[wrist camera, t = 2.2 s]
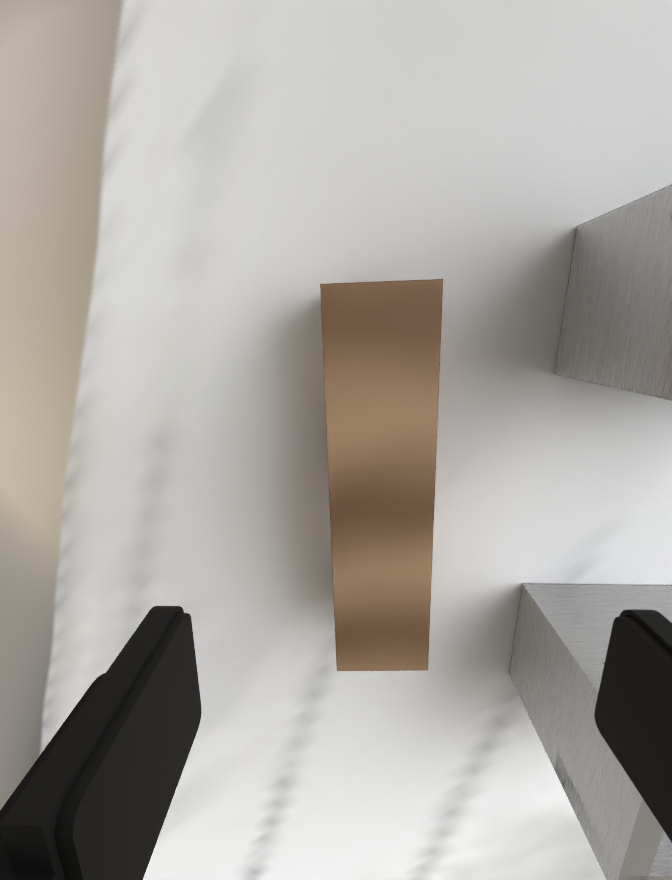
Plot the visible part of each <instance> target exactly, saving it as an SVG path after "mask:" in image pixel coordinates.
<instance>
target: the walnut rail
mask: <svg viewBox="0 0 672 880" xmlns="http://www.w3.org/2000/svg"><path fill="white" fill-rule="evenodd" d="M320 288H321V311H322V334H323V358H324V381H325V404H326V428H327V451H328V475H329V498H330V521H331V545H332V568H333V591H334V615H335V638H336V661H337V671H399V670H428V652H429V626H430V601H431V575H432V549H433V523H434V497H435V471H436V446H437V420H438V394H439V368H440V342H441V317H442V291H443V279H433V280H408V281H383V282H358V283H333V284H320Z"/></svg>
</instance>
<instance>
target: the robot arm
mask: <svg viewBox="0 0 672 880" xmlns="http://www.w3.org/2000/svg"><path fill="white" fill-rule="evenodd" d="M594 717H595V722H596V725H597V728H598V730H599V732H600V734H601V735H602V737H603V738H604V740H605V741H606V743H607V745H608V746H609V748H610V749H611V751H612V752H613V754H614V755H615V757H616V758H617V760H618V761H619V763H620V764H621V766H622V767H623V769H624V770H625V772H626V774H627V775H628V777H629V778H630V780H631V781H632V783H633V784H634V786H635V787H636V789H637V790H638V792H639V793H640V795H641V796H642V798H643V800H644V801H645V803H646V804H647V806H648V807H649V809H650V810H651V812H652V813H653V815H654V816H655V818H656V819H657V821H658V822H659V824H660V826H661V827H662V829H663V830H664V832H665V833H666V835H667V836H668V838H669V839H670V841H671V842H672V623H671V622H670V621H669V620H668V619H667V618H665V617H664V616H663V615H662V614H661V613H659V612H658V611H655V610H640V609H627V610H623V611H622V612H621V613H620V616H619V617H616V618H615V619H614V622H613V626H612V630H611V635H610V640H609V645H608V649H607V654H606V659H605V664H604V668H603V673H602V678H601V683H600V687H599V692H598V697H597V702H596V706H595V712H594ZM200 719H201V701H200V692H199V683H198V674H197V666H196V657H195V648H194V640H193V631H192V622H191V616H190V614H188V613H184V612H183V609H182V607H180V606H155V607H153V608H152V609H151V610H150V611H149V612H148V614H147V615H146V617H145V618H144V620H143V621H142V622H141V624H140V625H139V627H138V628H137V630H136V631H135V632H134V634H133V635H132V637H131V638H130V639H129V641H128V642H127V644H126V645H125V647H124V648H123V649H122V651H121V652H120V654H119V655H118V656H117V658H116V659H115V661H114V662H113V664H112V665H111V666H110V668H109V669H108V671H107V672H106V673H104V674H102V675H101V676H99V677H98V678H97V679H96V680H95V681H94V682H93V683H92V684H91V686H90V687H89V689H88V690H87V691H86V693H85V694H84V695H83V697H82V698H81V700H80V701H79V702H78V704H77V705H76V707H75V708H74V709H73V711H72V712H71V713H70V715H69V716H68V718H67V719H66V720H65V722H64V723H63V725H62V726H61V727H60V729H59V730H58V731H57V733H56V734H55V736H54V737H53V738H52V740H51V741H50V743H49V744H48V745H47V747H46V748H45V749H44V751H43V752H42V754H41V755H40V756H39V758H38V759H37V761H36V762H35V764H34V765H33V766H32V767H31V769H30V770H29V772H28V773H27V774H26V776H25V777H24V779H23V780H22V781H21V783H20V784H19V785H18V787H17V788H16V790H15V791H14V792H13V794H12V795H11V796H10V798H9V799H8V801H7V802H6V804H5V805H4V806H3V808H2V809H1V810H0V880H143V877H144V874H145V872H146V869H147V866H148V864H149V861H150V858H151V855H152V853H153V850H154V847H155V845H156V842H157V839H158V836H159V834H160V831H161V828H162V825H163V823H164V820H165V817H166V815H167V812H168V809H169V806H170V804H171V801H172V798H173V796H174V793H175V790H176V787H177V785H178V782H179V779H180V777H181V774H182V771H183V768H184V766H185V763H186V760H187V757H188V755H189V752H190V749H191V747H192V744H193V741H194V738H195V736H196V733H197V730H198V727H199V724H200Z"/></svg>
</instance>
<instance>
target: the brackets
mask: <svg viewBox="0 0 672 880" xmlns="http://www.w3.org/2000/svg"><path fill="white" fill-rule="evenodd" d="M555 375H560V376H564V377H569V378H573V379H578V380H582V381H587V382H591V383H596V384H600V385H605V386H610V387H614V388H619V389H623V390H628V391H632V392H637V393H641V394H646V395H650V396H655V397H659V398H664V399H668V400H672V185H669V186H667V187H665V188H663V189H660V190H658V191H656V192H653V193H651V194H649V195H647V196H644V197H642V198H640V199H638V200H635V201H633V202H631V203H628V204H626V205H624V206H622V207H619V208H617V209H615V210H613V211H610V212H608V213H606V214H604V215H601V216H599V217H597V218H594V219H592V220H590V221H588V222H585V223H583V224H581V225H579V226H577V230H576V237H575V243H574V250H573V256H572V263H571V270H570V276H569V283H568V289H567V296H566V303H565V309H564V316H563V322H562V329H561V335H560V342H559V349H558V355H557V362H556V368H555ZM627 609H640V610H655V611H658V612H659V613H661V614H662V615H663V616H664V617H665V618H667V619H668V620H669V621H670V622H671V623H672V586H668V585H587V584H523V586H522V592H521V599H520V606H519V612H518V619H517V625H516V632H515V639H514V645H513V652H512V658H511V665H510V671H509V674H510V677H511V679H512V681H513V683H514V685H515V687H516V689H517V691H518V693H519V696H520V698H521V700H522V702H523V704H524V706H525V708H526V710H527V712H528V715H529V717H530V719H531V721H532V723H533V725H534V727H535V729H536V732H537V734H538V736H539V738H540V740H541V742H542V744H543V746H544V748H545V751H546V753H547V755H548V757H549V759H550V761H551V763H552V765H553V767H554V770H555V772H556V774H557V776H558V778H559V780H560V782H561V784H562V787H563V789H564V791H565V793H566V795H567V797H568V799H569V801H570V803H571V806H572V808H573V810H574V812H575V814H576V816H577V818H578V820H579V822H580V825H581V827H582V829H583V831H584V833H585V835H586V837H587V839H588V841H589V844H590V846H591V848H592V850H593V852H594V854H595V856H596V858H597V861H598V863H599V865H600V867H601V869H602V871H603V873H604V875H605V877H606V880H672V842H671V841H670V839H669V838H668V836H667V835H666V833H665V832H664V830H663V829H662V827H661V826H660V824H659V822H658V821H657V819H656V818H655V816H654V815H653V813H652V812H651V810H650V809H649V807H648V806H647V804H646V803H645V801H644V800H643V798H642V796H641V795H640V793H639V792H638V790H637V789H636V787H635V786H634V784H633V783H632V781H631V780H630V778H629V777H628V775H627V774H626V772H625V770H624V769H623V767H622V766H621V764H620V763H619V761H618V760H617V758H616V757H615V755H614V754H613V752H612V751H611V749H610V748H609V746H608V745H607V743H606V741H605V740H604V738H603V737H602V735H601V734H600V732H599V730H598V728H597V725H596V722H595V717H594V712H595V706H596V702H597V697H598V692H599V687H600V683H601V678H602V673H603V668H604V664H605V659H606V654H607V649H608V645H609V640H610V635H611V630H612V626H613V622H614V619H615V618H616V617H619V616H620V613H621V612H622V611H623V610H627Z"/></svg>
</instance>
